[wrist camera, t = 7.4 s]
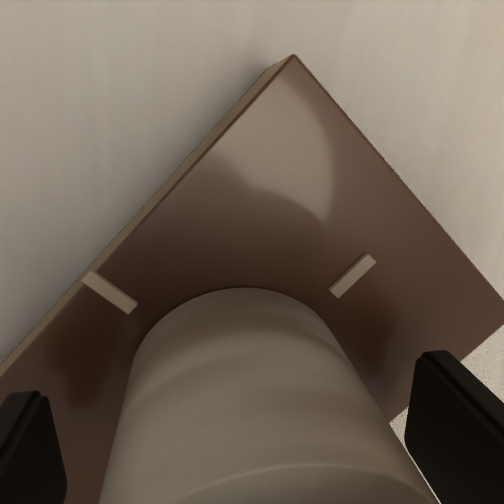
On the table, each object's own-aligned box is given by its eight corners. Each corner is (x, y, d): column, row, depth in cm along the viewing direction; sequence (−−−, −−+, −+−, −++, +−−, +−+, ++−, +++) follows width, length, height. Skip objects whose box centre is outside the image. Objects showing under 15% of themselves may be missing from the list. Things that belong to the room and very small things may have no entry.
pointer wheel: (82, 397, 11) (-33, 694, 5) (237, 241, 10) (293, 404, 4) (239, 492, 13) (274, 779, 7) (379, 370, 12) (539, 591, 6)
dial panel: (204, 505, 17) (206, 590, 14) (-21, 383, 13) (-81, 460, 10) (456, 277, 15) (522, 319, 12) (266, 63, 11) (292, 46, 8)
